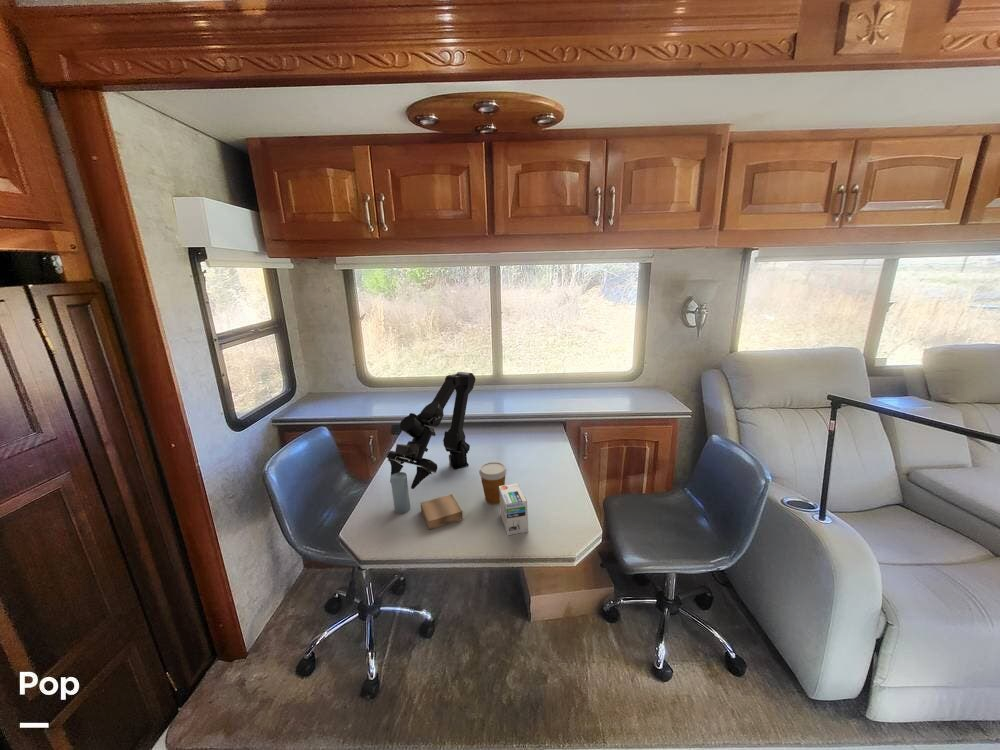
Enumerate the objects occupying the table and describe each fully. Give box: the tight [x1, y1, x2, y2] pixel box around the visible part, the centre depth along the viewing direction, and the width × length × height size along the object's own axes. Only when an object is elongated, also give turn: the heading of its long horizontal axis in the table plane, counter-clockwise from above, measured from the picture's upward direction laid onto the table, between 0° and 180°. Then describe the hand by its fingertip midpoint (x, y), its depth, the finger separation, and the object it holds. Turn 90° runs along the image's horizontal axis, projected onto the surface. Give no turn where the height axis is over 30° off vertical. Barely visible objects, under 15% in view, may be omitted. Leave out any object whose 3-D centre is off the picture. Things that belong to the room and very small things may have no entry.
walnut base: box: [420, 493, 464, 530], centre depth 122 cm, size 11×11×3 cm
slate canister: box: [390, 471, 411, 515], centre depth 125 cm, size 5×5×12 cm
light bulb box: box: [499, 482, 529, 536], centre depth 115 cm, size 11×7×11 cm, turn 12°
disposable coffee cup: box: [478, 461, 508, 505], centre depth 128 cm, size 10×10×12 cm
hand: (401, 485), depth 125 cm, fingers open, 9 cm apart
